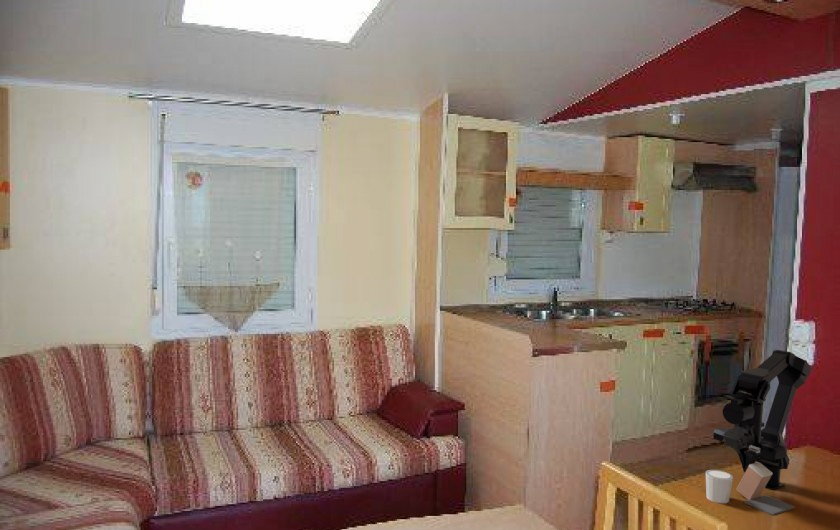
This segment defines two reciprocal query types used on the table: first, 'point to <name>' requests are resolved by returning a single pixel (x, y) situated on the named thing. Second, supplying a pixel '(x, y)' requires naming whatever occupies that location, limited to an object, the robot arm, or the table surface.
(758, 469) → the block
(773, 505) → the mat
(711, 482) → the white cup
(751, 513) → the table surface
